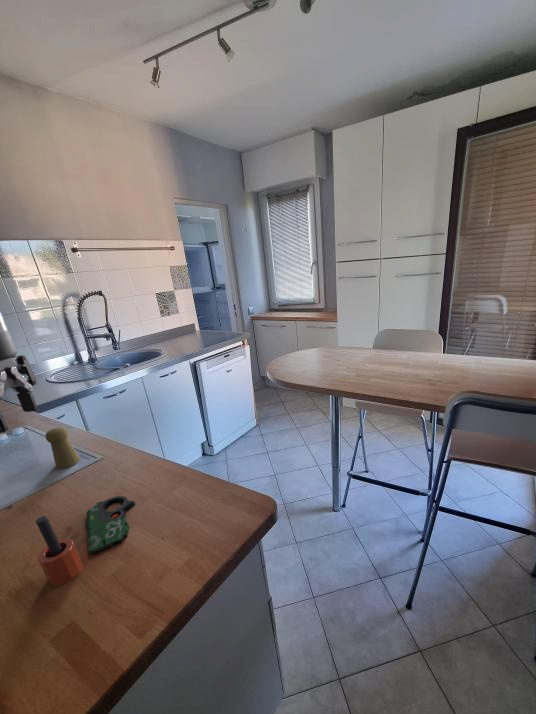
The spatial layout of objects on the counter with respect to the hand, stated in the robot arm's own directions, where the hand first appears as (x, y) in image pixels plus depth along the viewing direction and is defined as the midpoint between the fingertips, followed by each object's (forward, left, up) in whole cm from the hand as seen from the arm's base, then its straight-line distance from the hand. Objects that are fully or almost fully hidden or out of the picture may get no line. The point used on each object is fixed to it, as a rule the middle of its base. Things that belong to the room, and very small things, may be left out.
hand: (17, 420), depth 60 cm
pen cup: (+5, -11, -27) cm, 30 cm away
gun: (+9, +1, -27) cm, 29 cm away
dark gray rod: (+5, -11, -27) cm, 29 cm away
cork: (-14, +31, -27) cm, 44 cm away
